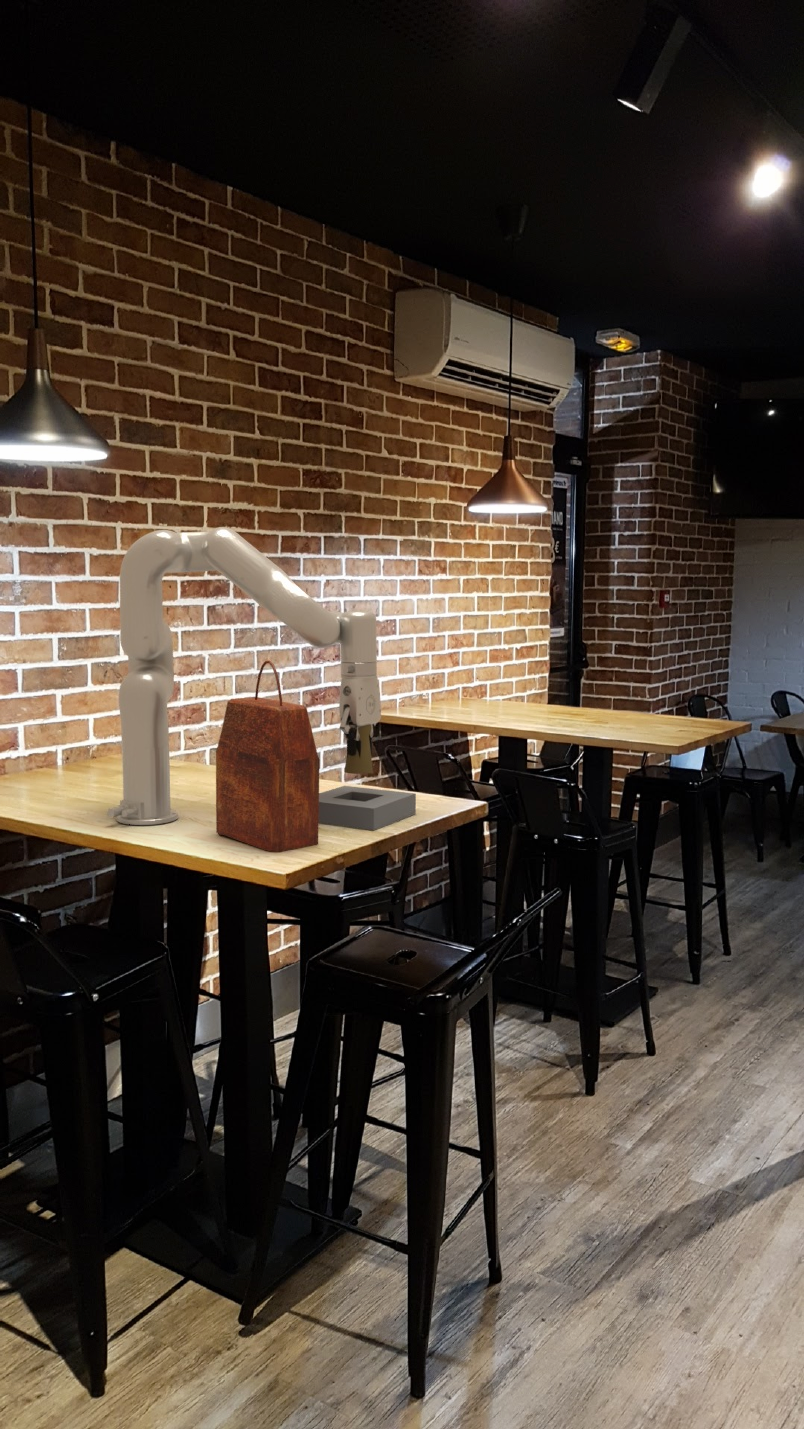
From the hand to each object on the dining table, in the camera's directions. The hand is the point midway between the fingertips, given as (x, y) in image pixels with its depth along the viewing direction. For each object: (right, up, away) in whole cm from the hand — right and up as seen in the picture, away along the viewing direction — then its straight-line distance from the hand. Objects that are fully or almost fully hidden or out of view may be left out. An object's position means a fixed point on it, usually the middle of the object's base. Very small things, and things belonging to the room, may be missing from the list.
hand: (359, 756), depth 222 cm
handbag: (-17, -16, -19) cm, 30 cm away
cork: (0, -3, 0) cm, 3 cm away
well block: (0, -13, +2) cm, 13 cm away
